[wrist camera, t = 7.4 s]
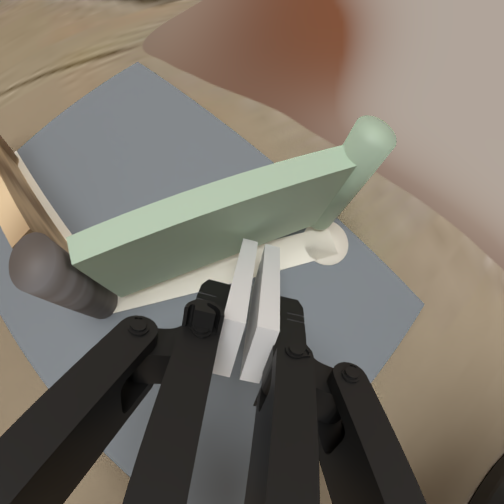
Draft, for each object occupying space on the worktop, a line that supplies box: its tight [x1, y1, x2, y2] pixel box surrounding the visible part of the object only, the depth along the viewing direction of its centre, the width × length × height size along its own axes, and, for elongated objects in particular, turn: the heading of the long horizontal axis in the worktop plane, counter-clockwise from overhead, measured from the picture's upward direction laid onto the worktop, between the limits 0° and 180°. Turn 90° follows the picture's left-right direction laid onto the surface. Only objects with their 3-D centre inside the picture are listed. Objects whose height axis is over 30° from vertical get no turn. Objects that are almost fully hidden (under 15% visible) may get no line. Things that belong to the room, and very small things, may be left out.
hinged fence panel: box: [66, 116, 396, 297], centre depth 15 cm, size 14×2×9 cm, turn 113°
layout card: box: [0, 62, 424, 504], centre depth 20 cm, size 32×22×1 cm
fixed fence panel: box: [0, 135, 118, 319], centre depth 15 cm, size 17×2×10 cm, turn 47°
